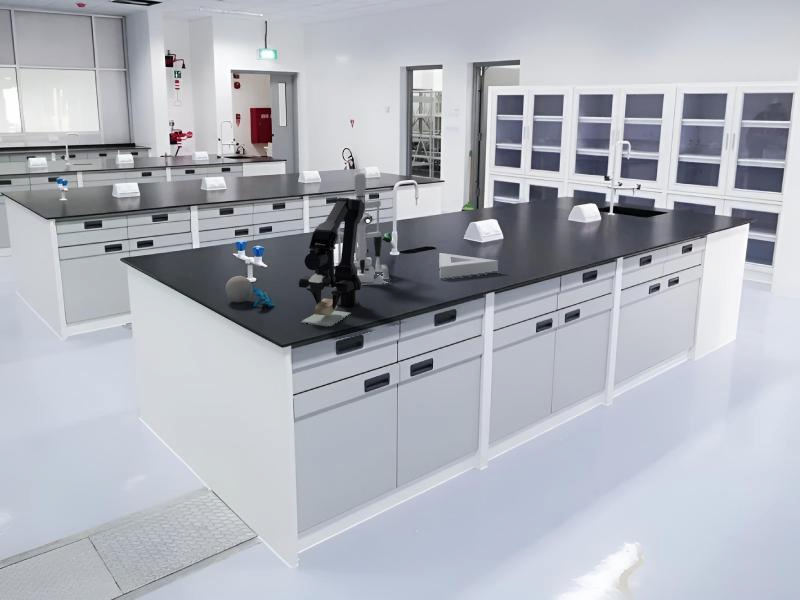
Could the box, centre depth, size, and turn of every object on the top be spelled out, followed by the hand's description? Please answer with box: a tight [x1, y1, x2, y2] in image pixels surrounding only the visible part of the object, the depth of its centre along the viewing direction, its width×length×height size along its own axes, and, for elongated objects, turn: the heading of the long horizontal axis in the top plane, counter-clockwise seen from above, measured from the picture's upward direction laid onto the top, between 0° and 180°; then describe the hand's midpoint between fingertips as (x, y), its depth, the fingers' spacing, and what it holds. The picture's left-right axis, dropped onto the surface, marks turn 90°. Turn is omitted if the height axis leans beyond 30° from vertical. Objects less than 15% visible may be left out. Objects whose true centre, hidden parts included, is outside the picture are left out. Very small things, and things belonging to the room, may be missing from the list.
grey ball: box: [225, 275, 254, 303], centre depth 261 cm, size 10×10×10 cm
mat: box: [301, 310, 352, 328], centre depth 243 cm, size 16×11×1 cm
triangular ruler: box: [438, 252, 499, 279], centre depth 313 cm, size 30×26×6 cm
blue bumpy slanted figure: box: [253, 286, 275, 308], centre depth 256 cm, size 11×6×10 cm
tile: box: [314, 298, 338, 315], centre depth 242 cm, size 5×10×3 cm, turn 170°
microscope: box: [334, 172, 390, 285], centre depth 294 cm, size 24×27×45 cm
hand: (326, 308), depth 242 cm, fingers closed on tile, 5 cm apart
